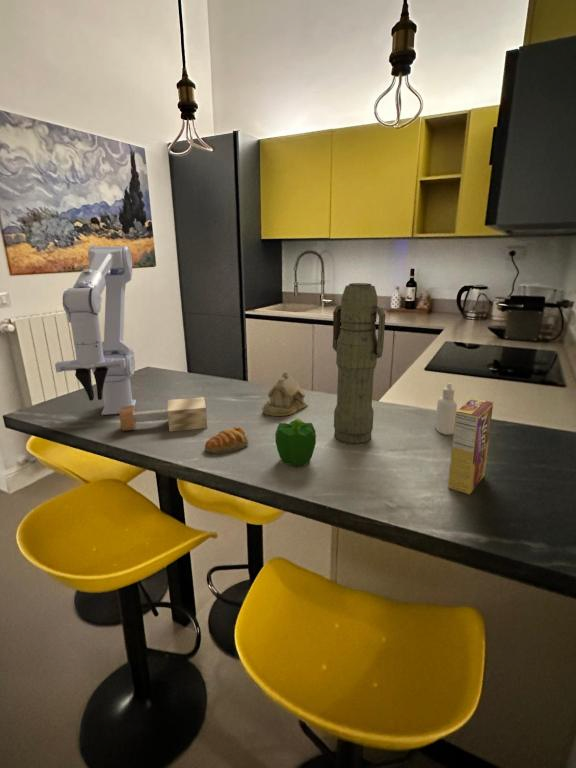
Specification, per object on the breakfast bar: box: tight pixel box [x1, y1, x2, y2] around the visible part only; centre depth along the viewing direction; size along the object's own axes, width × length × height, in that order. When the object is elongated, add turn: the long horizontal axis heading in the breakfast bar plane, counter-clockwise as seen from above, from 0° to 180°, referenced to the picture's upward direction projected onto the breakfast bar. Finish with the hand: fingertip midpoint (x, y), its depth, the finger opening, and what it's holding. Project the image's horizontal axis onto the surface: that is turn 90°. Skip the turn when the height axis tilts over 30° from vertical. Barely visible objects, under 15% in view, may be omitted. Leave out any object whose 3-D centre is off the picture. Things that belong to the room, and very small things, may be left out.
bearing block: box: [167, 396, 208, 432], centre depth 107 cm, size 9×8×5 cm
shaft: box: [118, 405, 168, 431], centre depth 105 cm, size 16×4×4 cm, turn 104°
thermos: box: [332, 282, 386, 446], centre depth 94 cm, size 9×12×35 cm
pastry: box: [204, 426, 249, 454], centre depth 94 cm, size 9×7×4 cm
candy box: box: [447, 398, 494, 495], centre depth 78 cm, size 9×4×15 cm, turn 140°
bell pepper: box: [275, 417, 317, 467], centre depth 87 cm, size 8×8×10 cm
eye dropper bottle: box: [434, 382, 458, 436], centre depth 101 cm, size 4×6×12 cm
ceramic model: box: [262, 372, 309, 417], centre depth 117 cm, size 14×11×10 cm
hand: (96, 398), depth 100 cm, fingers closed
